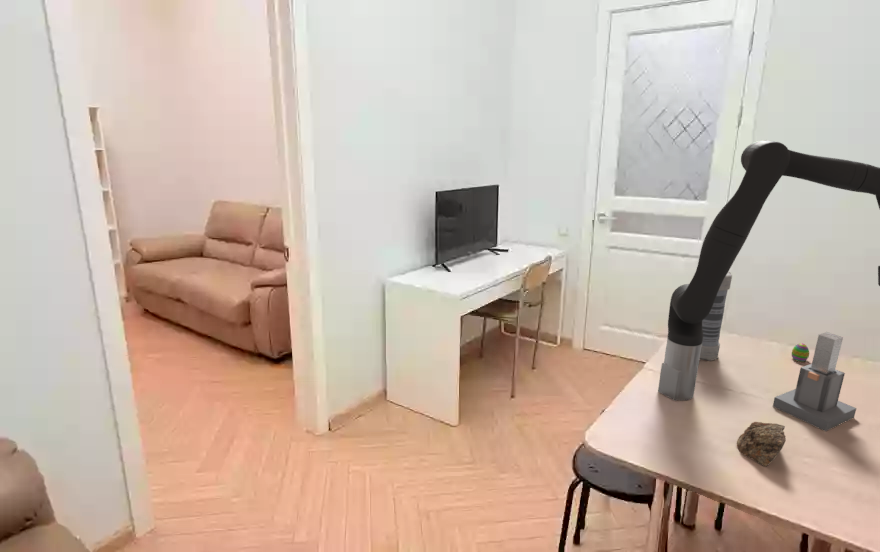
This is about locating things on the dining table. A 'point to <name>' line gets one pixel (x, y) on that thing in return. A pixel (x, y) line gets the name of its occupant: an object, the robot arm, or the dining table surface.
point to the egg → (800, 352)
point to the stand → (816, 399)
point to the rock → (762, 442)
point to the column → (826, 353)
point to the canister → (714, 323)
